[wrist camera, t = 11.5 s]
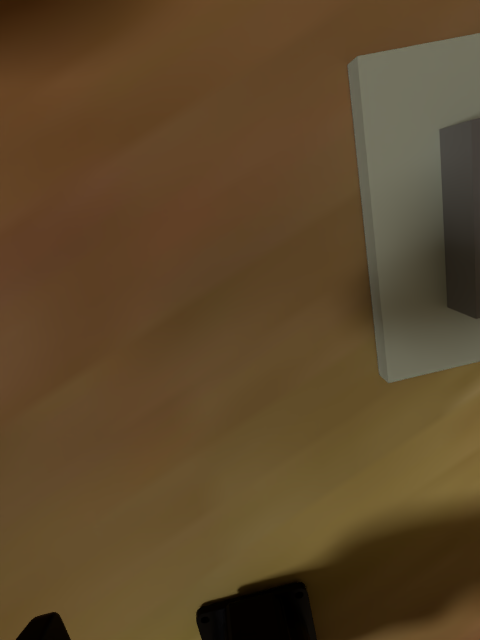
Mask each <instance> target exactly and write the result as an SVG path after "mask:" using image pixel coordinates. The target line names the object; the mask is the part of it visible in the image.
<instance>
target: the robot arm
mask: <svg viewBox="0 0 480 640" xmlns="http://www.w3.org/2000/svg"><path fill="white" fill-rule="evenodd" d="M196 622H197V626H198V629H199V632H200V635H201V638H202V640H317V639H316V633H315V628H314V623H313V618H312V613H311V608H310V603H309V597H308V593H307V589H306V586H305V584H303V583H301V582H296V583H292V584H289V585H285V586H281V587H277V588H273V589H269V590H266V591H262V592H258V593H254V594H250V595H247V596H243V597H239V598H235V599H231V600H227V601H224V602H220V603H216V604H212V605H208V606H205V607H202V608H200V609H198V610H197V613H196ZM16 640H71V639H70V637H69V635H68V632H67V630H66V628H65V626H64V623H63V621H62V619H61V617H60V615H59V614H58V613H56V612H52V613H48V614H44V615H40V616H37V617H35V618H33V619H32V620H31V621H30V622H29V623H28V625H27V626H26V627H25V629H24V630H23V631H22V632H21V634H20V635H19V636H18V637H17V639H16Z"/></svg>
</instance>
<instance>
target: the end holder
mask: <svg viewBox="0 0 480 640" xmlns="http://www.w3.org/2000/svg"><path fill="white" fill-rule="evenodd" d="M348 75H349V84H350V94H351V104H352V114H353V123H354V133H355V143H356V153H357V162H358V172H359V182H360V192H361V202H362V211H363V221H364V231H365V241H366V250H367V260H368V270H369V280H370V290H371V299H372V309H373V319H374V329H375V338H376V348H377V358H378V368H379V375H380V376H381V377H382V378H383V379H385V380H386V381H387V382H388V383H390V382H395V381H399V380H403V379H407V378H412V377H416V376H420V375H424V374H428V373H433V372H437V371H441V370H445V369H450V368H454V367H458V366H462V365H466V364H471V363H475V362H479V361H480V33H478V34H473V35H468V36H462V37H457V38H452V39H447V40H441V41H436V42H431V43H425V44H420V45H415V46H410V47H404V48H399V49H394V50H389V51H383V52H378V53H373V54H367V55H362V56H357V57H356V58H355V59H354V60H353V61H351V62H350V63H349V64H348Z"/></svg>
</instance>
